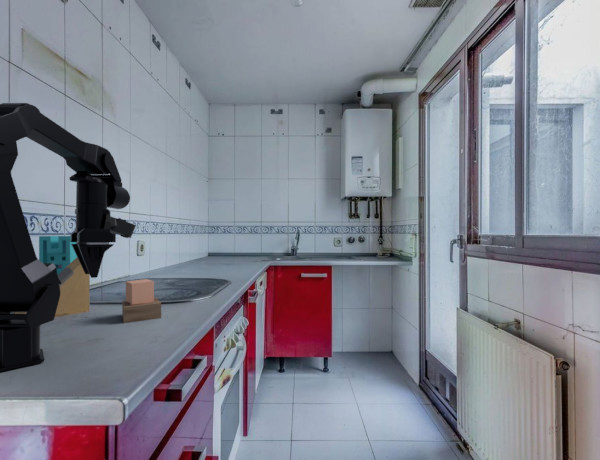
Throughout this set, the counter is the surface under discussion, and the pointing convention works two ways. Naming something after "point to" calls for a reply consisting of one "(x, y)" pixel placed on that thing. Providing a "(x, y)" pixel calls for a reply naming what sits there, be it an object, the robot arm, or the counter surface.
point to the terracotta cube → (139, 291)
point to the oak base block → (141, 311)
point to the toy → (56, 251)
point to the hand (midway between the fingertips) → (90, 275)
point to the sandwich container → (73, 290)
